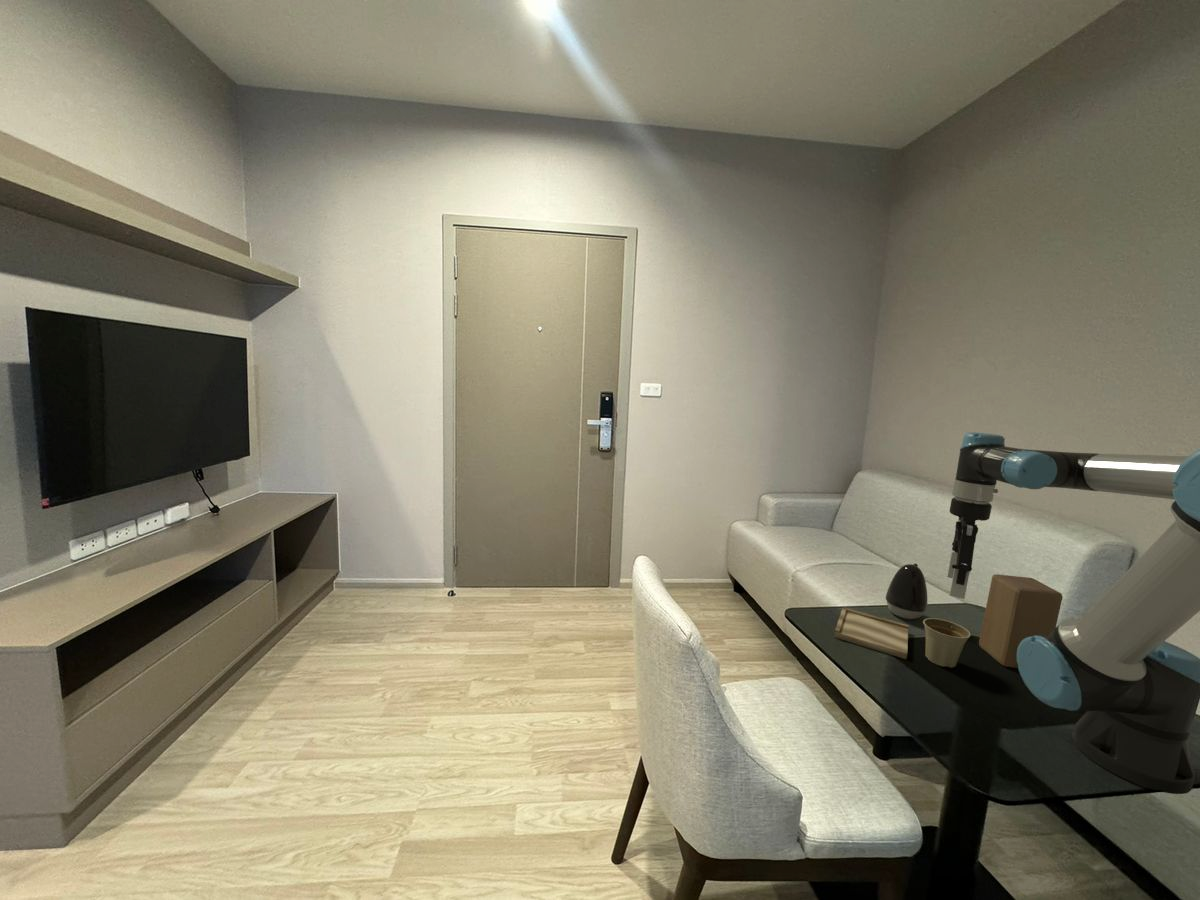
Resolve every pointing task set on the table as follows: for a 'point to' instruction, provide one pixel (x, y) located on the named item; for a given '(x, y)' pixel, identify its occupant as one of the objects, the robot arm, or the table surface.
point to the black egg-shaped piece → (907, 593)
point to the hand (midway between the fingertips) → (955, 587)
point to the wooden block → (1017, 615)
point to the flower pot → (944, 641)
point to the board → (873, 632)
